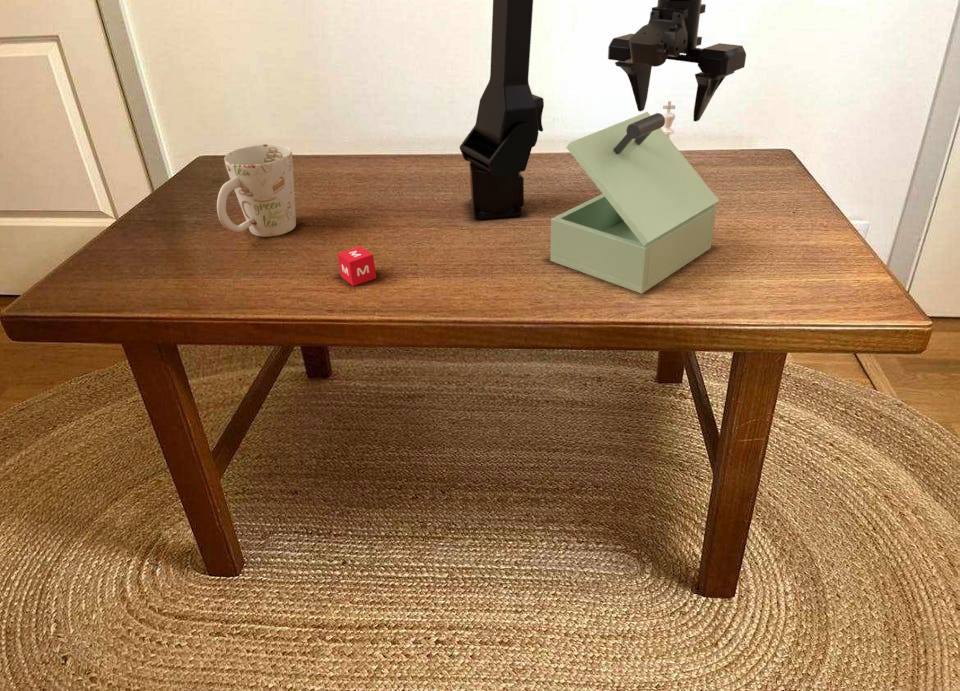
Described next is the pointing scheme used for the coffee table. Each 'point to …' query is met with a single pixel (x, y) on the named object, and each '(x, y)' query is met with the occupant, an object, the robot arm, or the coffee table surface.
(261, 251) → the coffee table surface
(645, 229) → the lid
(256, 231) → the mug
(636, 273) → the chest
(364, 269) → the red letter cube
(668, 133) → the chess piece
